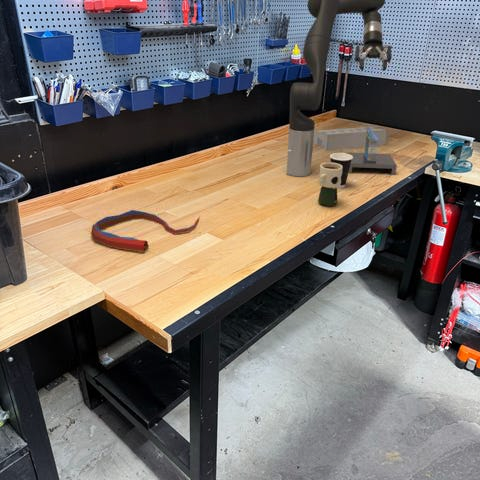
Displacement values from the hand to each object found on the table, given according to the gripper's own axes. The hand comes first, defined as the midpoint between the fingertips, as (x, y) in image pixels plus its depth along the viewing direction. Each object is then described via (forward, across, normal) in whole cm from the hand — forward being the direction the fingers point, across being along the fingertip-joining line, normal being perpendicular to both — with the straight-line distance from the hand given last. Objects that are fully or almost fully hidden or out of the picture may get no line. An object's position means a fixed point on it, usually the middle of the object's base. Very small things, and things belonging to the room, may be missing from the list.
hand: (373, 69), depth 183 cm
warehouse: (+15, +4, -35) cm, 38 cm away
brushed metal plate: (+38, 0, -11) cm, 40 cm away
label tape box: (+36, 0, -8) cm, 37 cm away
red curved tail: (+83, +72, +33) cm, 115 cm away
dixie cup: (+53, +14, +4) cm, 55 cm away
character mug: (+65, +19, +16) cm, 70 cm away
